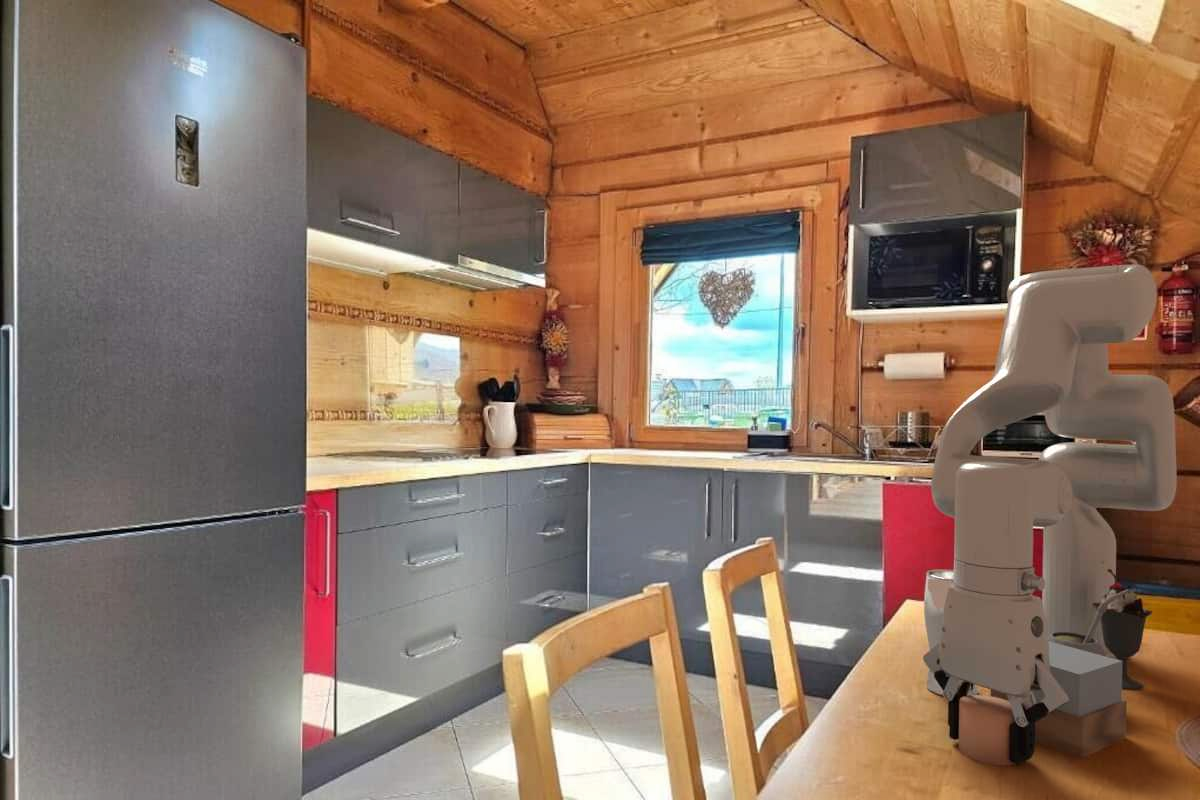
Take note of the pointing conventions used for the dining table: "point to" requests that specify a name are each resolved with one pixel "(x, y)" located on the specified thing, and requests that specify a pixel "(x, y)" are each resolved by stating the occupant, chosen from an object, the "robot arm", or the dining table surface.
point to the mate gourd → (1082, 640)
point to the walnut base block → (1080, 729)
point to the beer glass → (937, 617)
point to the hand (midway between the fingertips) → (989, 746)
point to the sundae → (1123, 628)
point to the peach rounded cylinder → (985, 729)
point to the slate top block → (1084, 679)
